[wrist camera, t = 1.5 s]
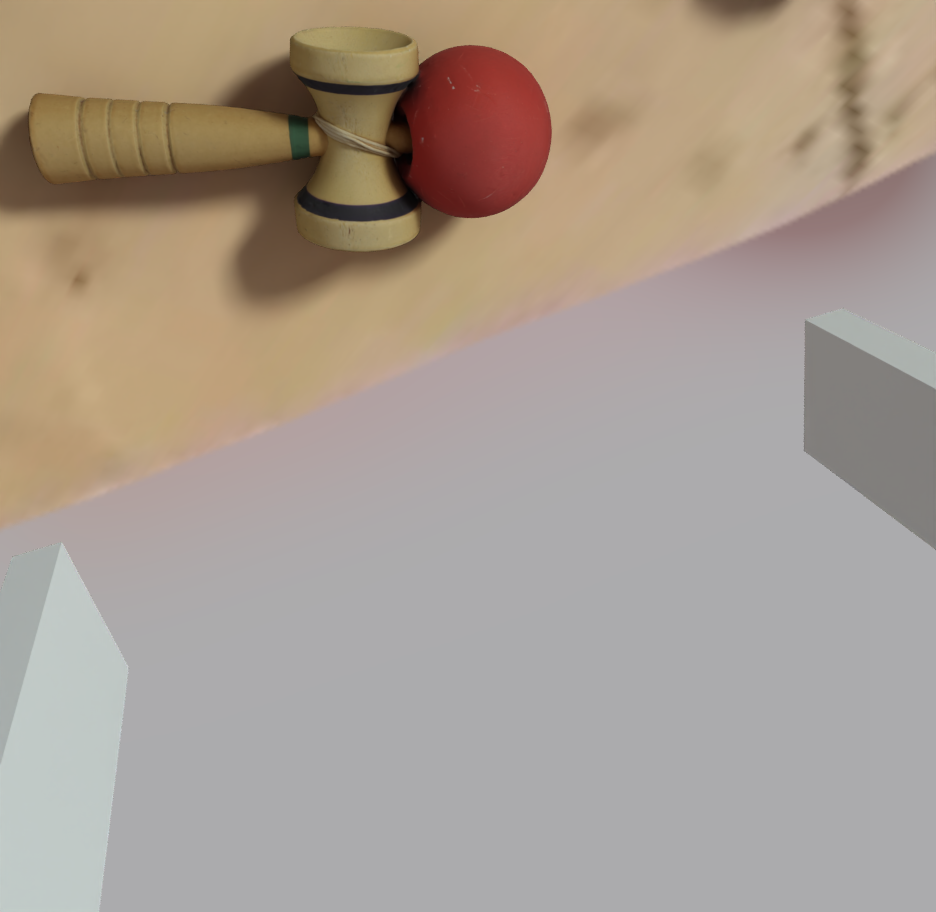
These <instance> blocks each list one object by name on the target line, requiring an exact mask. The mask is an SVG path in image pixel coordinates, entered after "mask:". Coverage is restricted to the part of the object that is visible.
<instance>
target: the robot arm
mask: <svg viewBox="0 0 936 912" xmlns="http://www.w3.org/2000/svg"><path fill="white" fill-rule="evenodd" d="M804 381H805V383H804V384H805V385H804V451H805V452H806V453H808V454H809V455H811V456H812V457H813V458H814V459H816V460H817V461H818V462H820V463H821V464H822V465H824V466H825V467H826V468H828V469H829V470H830V471H832V472H833V473H835V474H836V475H837V476H838V477H840V478H841V479H843V480H844V481H845V482H846V483H848V484H849V485H850V486H852V487H853V488H854V489H856V490H857V491H858V492H860V493H861V494H862V495H864V496H865V497H866V498H868V499H869V500H870V501H872V502H873V503H874V504H876V505H877V506H878V507H879V508H881V509H882V510H883V511H885V512H886V513H887V514H889V515H890V516H892V517H893V518H894V519H896V520H897V521H898V522H899V523H901V524H902V525H903V526H905V527H906V528H908V529H909V530H910V531H911V532H913V533H914V534H915V535H917V536H918V537H919V538H921V539H922V540H923V541H925V542H926V543H928V544H929V545H930V546H931V547H933V548H934V549H935V550H936V353H935V352H933V351H931V350H929V349H927V348H925V347H923V346H921V345H919V344H917V343H915V342H912V341H911V340H908V339H906V338H904V337H902V336H900V335H898V334H896V333H894V332H892V331H890V330H887V329H886V328H883V327H881V326H879V325H877V324H875V323H873V322H871V321H869V320H867V319H865V318H863V317H861V316H858V315H856V314H854V313H852V312H850V311H848V310H846V309H844V308H842V309H839V310H835V311H832V312H829V313H825V314H822V315H819V316H815V317H812V318H809V319H805V380H804ZM128 670H129V667H128V665H127V663H126V662H125V660H124V658H123V656H122V654H121V652H120V650H119V648H118V646H117V645H116V643H115V641H114V639H113V637H112V635H111V633H110V631H109V630H108V628H107V626H106V624H105V622H104V620H103V619H102V616H101V615H100V613H99V611H98V609H97V607H96V605H95V603H94V602H93V600H92V598H91V596H90V594H89V592H88V590H87V588H86V586H85V585H84V583H83V581H82V579H81V577H80V575H79V573H78V571H77V570H76V568H75V566H74V564H73V562H72V560H71V558H70V556H69V555H68V553H67V551H66V549H65V547H64V545H63V543H62V542H60V543H56V544H54V545H50V546H47V547H44V548H40V549H36V550H33V551H30V552H26V553H23V554H20V555H16V556H13V557H12V560H11V562H10V565H9V568H8V571H7V573H6V576H5V579H4V582H3V585H2V588H1V590H0V912H99V908H100V899H101V892H102V883H103V875H104V866H105V859H106V851H107V843H108V834H109V825H110V818H111V810H112V802H113V793H114V785H115V777H116V769H117V761H118V752H119V743H120V735H121V728H122V720H123V711H124V703H125V695H126V687H127V679H128Z"/></svg>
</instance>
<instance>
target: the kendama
mask: <svg viewBox="0 0 936 912" xmlns="http://www.w3.org/2000/svg"><path fill="white" fill-rule="evenodd" d="M290 66H291V69H292V70H293V72H294V73H295V74H296V75H297V76H298V78H299V79H300V80H301V81H302V82H303V83H304V85H305V86H306V87H307V89H308V90H309V92H310V93H311V95H312V97H313V99H314V101H315V103H316V106H317V108H318V111H317V112H316V114H315V115H313V117H300V116H295V115H287V114H282V113H274V112H266V111H261V110H252V109H245V108H236V107H227V106H216V105H203V104H187V103H172V104H170V105H169V104H167V103H165V102H150V101H143V102H141V103H140V102H139V101H134V100H112V99H101V98H87V99H84V98H82V97H74V96H65V95H54V94H42V93H38V94H35V95H34V96H33V98H32V99H31V103H30V107H29V113H28V128H29V135H30V137H29V139H30V144H31V148H32V152H33V156H34V159H35V161H36V164H37V166H38V168H39V170H40V172H41V173H42V175H43V177H44V178H45V179H46V180H47V181H48V182H49V183H52V184H62V183H71V182H81V181H90V180H95V179H97V178H99V179H111V178H121V177H132V176H147V175H149V174H151V175H163V174H175V173H176V172H177V171H178V172H179V173H193V172H207V171H218V170H227V169H236V168H245V167H251V166H258V165H265V164H271V163H278V162H284V161H290V160H297V159H301V158H307V157H317V156H320V160H319V163H318V165H317V168H316V170H315V172H314V174H313V176H312V178H311V179H310V181H309V182H308V183H307V185H306V186H305V187H304V188H303V189H302V190H301V191H299V192H298V194H297V195H296V196H295V199H294V206H295V216H296V225H297V229H298V232H299V233H300V234H301V235H302V236H303V237H304V238H305V239H306V240H308V241H310V242H312V243H314V244H317V245H319V246H322V247H326V248H329V249H335V250H341V251H350V252H371V251H381V250H387V249H392V248H395V247H397V246H400V245H403V244H405V243H407V242H409V241H411V240H412V239H414V238H415V237H416V236H417V235H418V233H419V231H420V223H421V201H423V202H425V203H426V204H428V205H430V206H431V207H433V208H435V209H437V210H439V211H441V212H443V213H445V214H448V215H452V216H455V217H462V218H480V217H487V216H490V215H494V214H497V213H500V212H502V211H505V210H507V209H508V208H510V207H512V206H513V205H515V204H516V203H518V202H519V201H520V200H521V199H523V198H524V197H525V196H526V195H527V194H528V193H529V192H530V191H531V190H532V188H533V187H534V186H535V185H536V183H537V182H538V180H539V178H540V177H541V175H542V172H543V170H544V168H545V165H546V162H547V159H548V155H549V150H550V145H551V134H552V129H551V119H550V113H549V109H548V105H547V102H546V99H545V97H544V94H543V92H542V90H541V88H540V86H539V84H538V83H537V81H536V80H535V78H534V77H533V75H532V74H531V73H530V72H529V71H528V69H527V68H526V67H525V66H524V65H522V64H521V63H520V62H518V61H517V60H516V59H514V58H513V57H511V56H509V55H508V54H506V53H504V52H502V51H499V50H496V49H493V48H489V47H485V46H474V45H468V46H466V45H465V46H457V47H453V48H449V49H446V50H443V51H441V52H438V53H436V54H434V55H433V56H431V57H429V58H428V59H426V60H425V61H424V62H423V63H421V64H420V65H419V61H418V46H417V43H416V42H415V40H413V39H412V38H411V37H409V36H407V35H404V34H401V33H397V32H394V31H390V30H383V29H376V28H363V27H328V28H327V27H326V28H315V29H309V30H303V31H300V32H298V33H296V34H295V35H293V36H292V37H291V39H290Z"/></svg>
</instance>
